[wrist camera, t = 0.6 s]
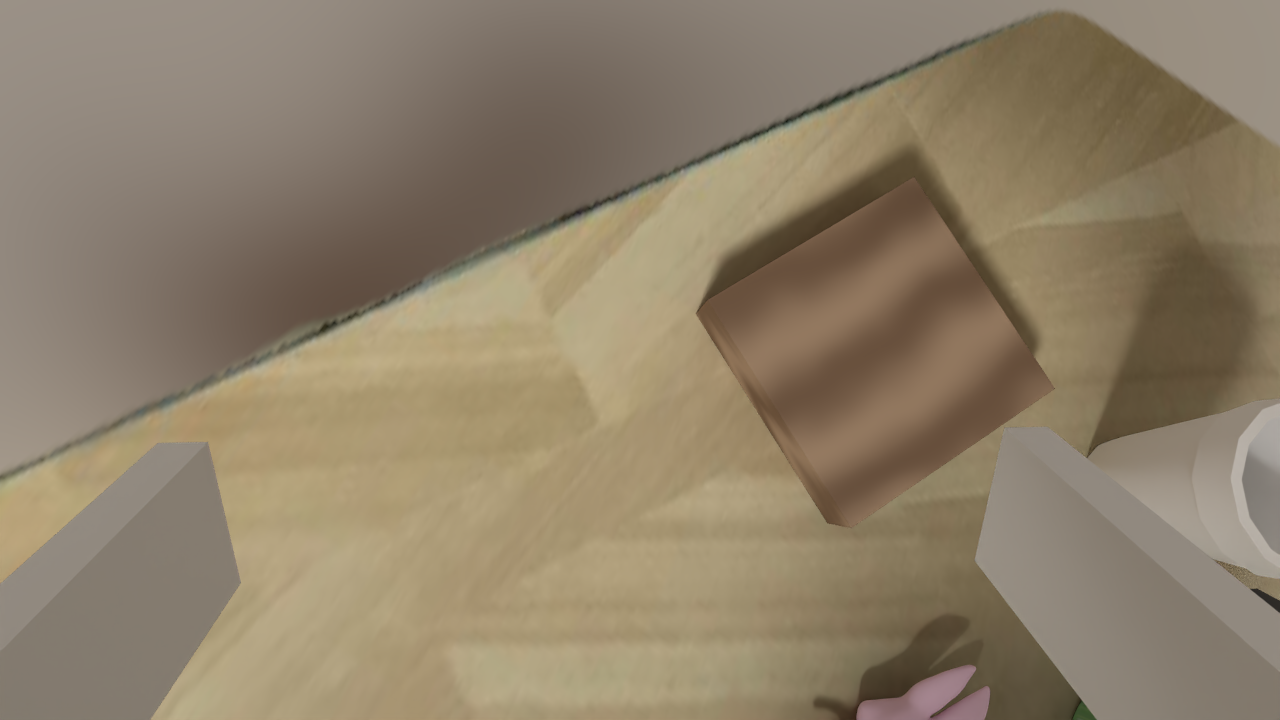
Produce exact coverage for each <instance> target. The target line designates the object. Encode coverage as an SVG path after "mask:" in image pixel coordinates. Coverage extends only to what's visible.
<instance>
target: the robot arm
mask: <svg viewBox="0 0 1280 720" xmlns="http://www.w3.org/2000/svg"><path fill="white" fill-rule="evenodd" d="M975 562H976V563H977V564H978V566H979V567H980V568H981V570H982V571H983V572H984V574H985V575H986V576H987V577H988V579H989V580H990V581H991V583H992V584H993V585H994V587H995V588H996V589H997V590H998V592H999V593H1000V594H1001V596H1002V597H1003V598H1004V600H1005V601H1006V602H1007V603H1008V605H1009V606H1010V607H1011V609H1012V610H1013V611H1014V613H1015V614H1016V615H1017V616H1018V618H1019V619H1020V620H1021V622H1022V623H1023V624H1024V626H1025V627H1026V628H1027V629H1028V631H1029V632H1030V633H1031V635H1032V636H1033V637H1034V639H1035V640H1036V641H1037V642H1038V644H1039V645H1040V646H1041V648H1042V649H1043V650H1044V652H1045V653H1046V654H1047V655H1048V657H1049V658H1050V659H1051V661H1052V662H1053V663H1054V665H1055V666H1056V667H1057V668H1058V670H1059V671H1060V672H1061V674H1062V675H1063V676H1064V678H1065V679H1066V680H1067V681H1068V683H1069V684H1070V685H1071V687H1072V688H1073V689H1074V691H1075V692H1076V693H1077V694H1078V696H1079V697H1080V698H1081V700H1082V701H1083V702H1084V704H1085V705H1086V706H1087V707H1088V709H1089V710H1090V711H1091V713H1092V714H1093V715H1094V717H1095V718H1096V719H1097V720H1280V601H1279V600H1277V599H1275V598H1273V597H1272V596H1270V595H1268V594H1266V593H1264V592H1262V591H1260V590H1259V589H1249V588H1248V587H1247V586H1245V585H1244V584H1243V583H1242V582H1240V581H1239V580H1238V579H1237V578H1235V577H1234V576H1233V575H1232V574H1230V573H1229V572H1228V571H1227V570H1225V569H1224V568H1223V567H1222V566H1220V565H1219V564H1218V563H1217V562H1215V561H1214V560H1213V559H1212V558H1210V557H1209V556H1208V555H1207V554H1205V553H1204V552H1203V551H1202V550H1200V549H1199V548H1198V547H1197V546H1195V545H1194V544H1193V543H1192V542H1190V541H1189V540H1188V539H1187V538H1185V537H1184V536H1183V535H1182V534H1181V533H1179V532H1178V531H1177V530H1176V529H1174V528H1173V527H1172V526H1171V525H1169V524H1168V523H1167V522H1166V521H1164V520H1163V519H1162V518H1161V517H1159V516H1158V515H1157V514H1156V513H1154V512H1153V511H1152V510H1151V509H1149V508H1148V507H1147V506H1146V505H1144V504H1143V503H1142V502H1141V501H1139V500H1138V499H1137V498H1136V497H1134V496H1133V495H1132V494H1131V493H1129V492H1128V491H1127V490H1126V489H1124V488H1123V487H1122V486H1121V485H1119V484H1118V483H1117V482H1116V481H1114V480H1113V479H1112V478H1111V477H1109V476H1108V475H1107V474H1106V473H1104V472H1103V471H1102V470H1101V469H1100V468H1098V467H1097V466H1096V465H1095V464H1093V463H1092V462H1091V461H1090V460H1088V459H1087V458H1086V457H1085V456H1083V455H1082V454H1081V453H1080V452H1078V451H1077V450H1076V449H1075V448H1073V447H1072V446H1071V445H1070V444H1068V443H1067V442H1066V441H1065V440H1063V439H1062V438H1061V437H1060V436H1058V435H1057V434H1056V433H1055V432H1053V431H1052V430H1051V429H1050V428H1048V427H1010V428H1004V432H1003V436H1002V441H1001V445H1000V449H999V454H998V458H997V463H996V467H995V472H994V476H993V481H992V485H991V490H990V494H989V499H988V503H987V507H986V512H985V516H984V521H983V525H982V530H981V534H980V539H979V543H978V548H977V552H976V557H975ZM240 583H241V581H240V577H239V573H238V568H237V564H236V560H235V556H234V551H233V547H232V543H231V539H230V534H229V530H228V526H227V521H226V517H225V513H224V509H223V504H222V500H221V496H220V492H219V487H218V483H217V479H216V474H215V470H214V466H213V462H212V457H211V453H210V449H209V445H208V442H187V443H157V444H156V445H155V446H154V447H153V448H152V449H151V450H150V451H148V452H147V453H146V454H145V455H144V456H143V457H142V458H141V459H139V460H138V461H137V462H136V463H135V464H134V465H133V466H132V467H130V468H129V469H128V470H127V471H126V472H125V473H124V474H123V475H122V476H120V477H119V478H118V479H117V480H116V481H115V482H114V483H113V484H111V485H110V486H109V487H108V488H107V489H106V490H105V491H104V492H103V493H101V494H100V495H99V496H98V497H97V498H96V499H95V500H94V501H92V502H91V503H90V504H89V505H88V506H87V507H86V508H85V509H83V510H82V511H81V512H80V513H79V514H78V515H77V516H76V517H75V518H73V519H72V520H71V521H70V522H69V523H68V524H67V525H66V526H64V527H63V528H62V529H61V530H60V531H59V532H58V533H57V534H55V535H54V536H53V537H52V538H51V539H50V540H49V541H48V542H47V543H45V544H44V545H43V546H42V547H41V548H40V549H39V550H38V551H36V552H35V553H34V554H33V555H32V556H31V557H30V558H29V559H28V560H26V561H25V562H24V563H23V564H22V565H21V566H20V567H19V568H17V569H16V570H15V571H14V572H13V573H12V574H11V575H10V576H8V577H7V578H6V579H5V580H4V581H3V582H2V583H1V584H0V720H150V719H151V718H152V716H153V715H154V713H155V712H156V710H157V709H158V707H159V706H160V704H161V703H162V701H163V700H164V698H165V697H166V695H167V694H168V692H169V691H170V689H171V687H172V686H173V684H174V683H175V681H176V680H177V678H178V677H179V675H180V674H181V672H182V671H183V669H184V668H185V666H186V665H187V663H188V662H189V660H190V659H191V657H192V656H193V654H194V653H195V651H196V650H197V648H198V647H199V645H200V644H201V642H202V641H203V639H204V638H205V636H206V635H207V633H208V632H209V630H210V629H211V627H212V626H213V624H214V623H215V621H216V620H217V618H218V617H219V615H220V614H221V612H222V611H223V609H224V608H225V606H226V605H227V603H228V601H229V600H230V598H231V597H232V595H233V594H234V592H235V591H236V589H237V588H238V586H239V585H240Z"/></svg>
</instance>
